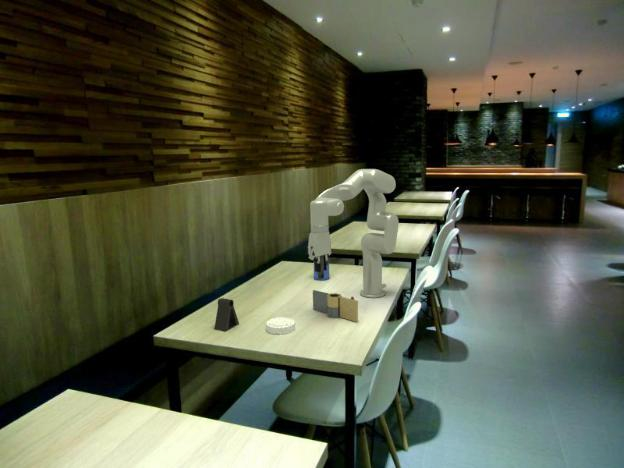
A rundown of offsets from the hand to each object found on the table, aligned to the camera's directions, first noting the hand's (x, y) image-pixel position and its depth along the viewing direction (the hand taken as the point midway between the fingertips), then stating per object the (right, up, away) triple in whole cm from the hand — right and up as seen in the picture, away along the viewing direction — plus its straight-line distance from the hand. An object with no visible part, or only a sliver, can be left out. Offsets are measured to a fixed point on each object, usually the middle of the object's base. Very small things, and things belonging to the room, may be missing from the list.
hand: (320, 270), depth 190 cm
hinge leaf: (+10, -20, 0) cm, 23 cm away
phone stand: (-39, -23, -7) cm, 46 cm away
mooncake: (-17, -24, -10) cm, 31 cm away
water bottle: (+2, -10, +64) cm, 65 cm away
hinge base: (+3, -20, +7) cm, 21 cm away
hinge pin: (0, -3, +1) cm, 3 cm away
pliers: (+8, -19, +18) cm, 27 cm away
